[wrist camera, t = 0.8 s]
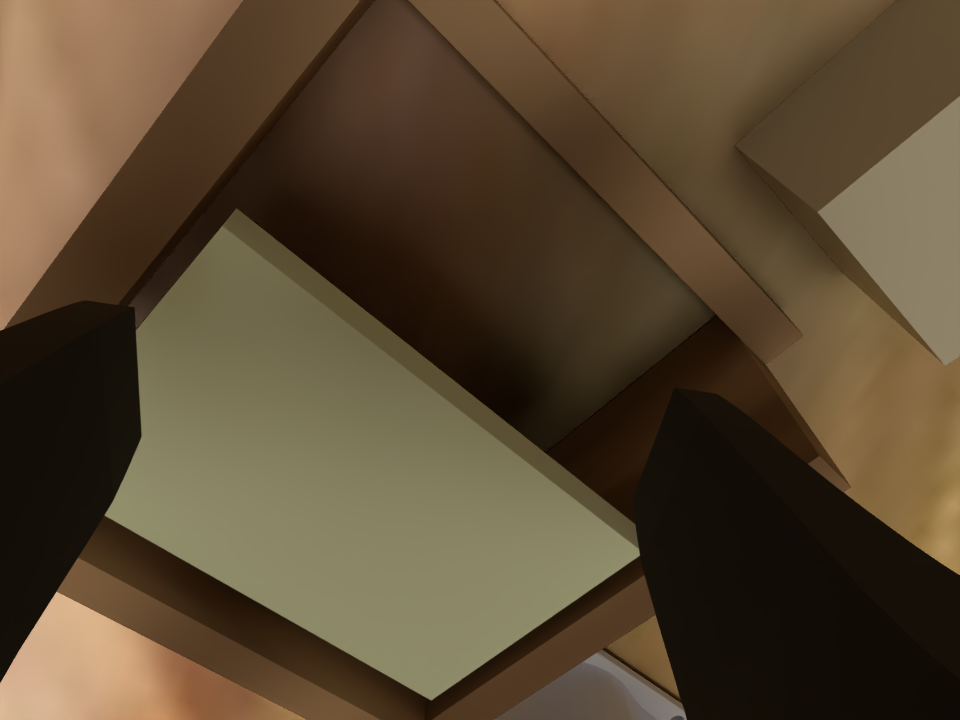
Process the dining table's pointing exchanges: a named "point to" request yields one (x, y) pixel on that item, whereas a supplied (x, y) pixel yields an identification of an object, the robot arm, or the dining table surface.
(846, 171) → the beige cube
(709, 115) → the dining table surface
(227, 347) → the flap
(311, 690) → the frame
